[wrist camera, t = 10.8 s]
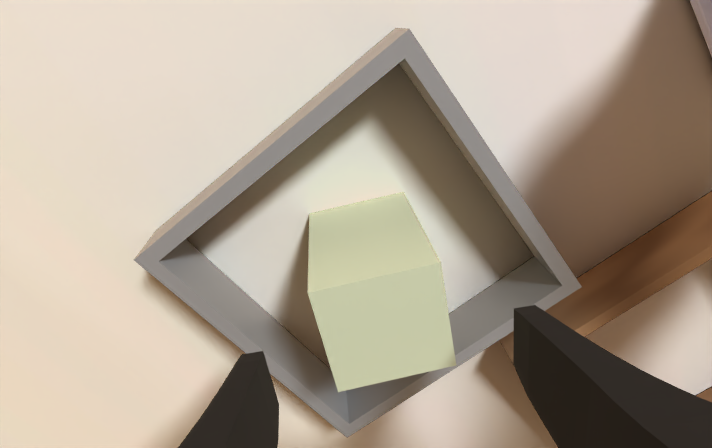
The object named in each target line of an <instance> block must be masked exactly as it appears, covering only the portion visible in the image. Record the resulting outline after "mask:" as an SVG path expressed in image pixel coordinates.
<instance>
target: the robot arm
mask: <svg viewBox="0 0 712 448" xmlns="http://www.w3.org/2000/svg"><path fill="white" fill-rule="evenodd" d="M690 2H691V5H692V8H693V10H694V13H695V15H696V18H697V20H698V23H699V26H700V28H701V31H702V33H703V36H704V38H705V41H706V44H707V46H708V49H709V51H710V54H711V56H712V0H690ZM513 364H514V366H515V369H516V371H517V373H518V376H519V378H520V380H521V383H522V385H523V387H524V389H525V391H526V394H527V396H528V398H529V399H530V401H531V403H532V405H533V406H534V408H535V410H536V411H537V413H538V415H539V416H540V418H541V420H542V421H543V423H544V425H545V426H546V428H547V430H548V431H549V433H550V435H551V436H552V438H553V440H554V441H555V443H556V444H557V446H558V448H712V402H710V401H707V400H705V399H702V398H700V397H697V396H695V395H693V394H690V393H688V392H686V391H683V390H681V389H679V388H677V387H675V386H673V385H671V384H669V383H666V382H664V381H662V380H660V379H658V378H656V377H654V376H652V375H650V374H648V373H646V372H644V371H642V370H640V369H638V368H636V367H635V366H633V365H631V364H629V363H627V362H626V361H624V360H622V359H620V358H618V357H617V356H615V355H613V354H611V353H610V352H608V351H606V350H605V349H603V348H601V347H600V346H598V345H596V344H595V343H593V342H591V341H590V340H588V339H587V338H585V337H584V336H582V335H580V334H579V333H577V332H576V331H574V330H573V329H571V328H570V327H568V326H567V325H565V324H563V323H562V322H560V321H559V320H557V319H556V318H554V317H553V316H551V315H550V314H548V313H547V312H545V311H544V310H542V309H541V308H539V307H537V306H536V305H531V306H525V307H519V308H514V351H513ZM278 428H279V403H278V400H277V396H276V393H275V389H274V386H273V383H272V379H271V376H270V372H269V369H268V366H267V362H266V359H265V355H264V352H263V351H259V352H254V353H248V354H242V355H241V356H240V358H239V359H238V361H237V362H236V364H235V365H234V367H233V369H232V370H231V372H230V373H229V375H228V377H227V378H226V380H225V381H224V383H223V385H222V386H221V388H220V389H219V391H218V392H217V394H216V395H215V397H214V398H213V400H212V401H211V403H210V404H209V406H208V407H207V409H206V410H205V412H204V413H203V415H202V416H201V418H200V419H199V420H198V422H197V423H196V424H195V426H194V427H193V428H192V430H191V431H190V432H189V434H188V435H187V436H186V438H185V439H184V441H183V442H182V443H181V444H180V446H179V447H178V448H277V445H278Z"/></svg>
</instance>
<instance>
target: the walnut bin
mask: <svg viewBox="0 0 712 448" xmlns="http://www.w3.org/2000/svg"><path fill="white" fill-rule="evenodd" d="M711 258H712V191H711V192H709V193H708V194H706V195H705V196H703V197H702V198H700V199H699V200H697V201H696V202H694V203H692V204H691V205H689V206H688V207H686V208H685V209H683V210H682V211H680V212H679V213H677V214H676V215H674V216H672V217H671V218H669V219H668V220H666V221H665V222H663V223H662V224H660V225H659V226H657V227H655V228H654V229H652V230H651V231H649V232H648V233H646V234H645V235H643V236H642V237H640V238H638V239H637V240H635V241H634V242H632V243H631V244H629V245H628V246H626V247H625V248H623V249H621V250H620V251H618V252H617V253H615V254H614V255H612V256H611V257H609V258H608V259H606V260H605V261H603V262H601V263H600V264H598V265H597V266H595V267H594V268H592V269H591V270H589V271H588V272H586V273H584V274H583V275H581V276H580V277H578V278H577V280H578V282H579V283H580V285H581V286H582V287H581V288H580V289H578V290H576V291H575V292H573V293H572V294H570V295H569V296H567V297H565V298H564V299H562V300H561V301H559V302H558V303H556V304H555V305H553V306H551V307H550V308H548V309H547V310H545V312H547V313H548V314H550V315H551V316H553V317H554V318H556V319H557V320H559V321H560V322H562V323H563V324H565V325H567V326H568V327H570V328H571V329H573V330H574V331H576V332H577V333H579V334H580V335H582V336H584V337H585V336H587V335H588V334H590V333H591V332H593V331H595V330H596V329H598V328H600V327H601V326H603V325H604V324H606V323H608V322H609V321H611V320H613V319H614V318H616V317H617V316H619V315H621V314H622V313H624V312H626V311H627V310H629V309H630V308H632V307H634V306H635V305H637V304H638V303H640V302H642V301H643V300H645V299H647V298H648V297H650V296H651V295H653V294H655V293H656V292H658V291H660V290H661V289H663V288H664V287H666V286H668V285H669V284H671V283H673V282H674V281H676V280H677V279H679V278H681V277H682V276H684V275H685V274H687V273H689V272H690V271H692V270H694V269H695V268H697V267H698V266H700V265H702V264H703V263H705V262H707V261H708V260H710V259H711ZM499 341H500V342H501V344H502V346H503V347H504V349H505V351H506V353H507V354H508V356H509V358H510V359H511V361H512V363H513V351H514V331H513V332H511V333H509V334H508V335H506V336H505V337H503V338H502V339H500V340H499ZM513 365H514V364H513ZM696 396H697V397H700V398H702V399H705V400H707V401H710V402H712V387H711V388H709V389H707V390H705V391H704V392H702V393H700V394H698V395H696Z"/></svg>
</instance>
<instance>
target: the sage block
mask: <svg viewBox="0 0 712 448" xmlns="http://www.w3.org/2000/svg"><path fill="white" fill-rule="evenodd" d="M308 296H309V299H310V302H311V306H312V309H313V312H314V315H315V319H316V322H317V325H318V328H319V332H320V335H321V338H322V341H323V345H324V348H325V351H326V354H327V358H328V361H329V364H330V367H331V371H332V374H333V377H334V380H335V384H336V387H337V390H338V392H341V391H346V390H350V389H354V388H359V387H363V386H368V385H372V384H376V383H381V382H385V381H390V380H394V379H399V378H403V377H407V376H412V375H416V374H421V373H425V372H429V371H434V370H438V369H443V368H447V367H451V366H456V360H455V353H454V346H453V340H452V333H451V327H450V320H449V313H448V307H447V300H446V293H445V287H444V280H443V274H442V267H441V262H440V260H439V258H438V256H437V254H436V252H435V250H434V249H433V247H432V245H431V243H430V241H429V239H428V237H427V235H426V233H425V232H424V230H423V228H422V226H421V224H420V222H419V220H418V218H417V216H416V215H415V213H414V211H413V209H412V207H411V205H410V203H409V201H408V199H407V198H406V196H405V194H404V192H401V193H397V194H392V195H388V196H384V197H379V198H375V199H371V200H366V201H362V202H358V203H353V204H349V205H344V206H340V207H336V208H331V209H327V210H323V211H318V212H314V213H310V214H309V251H308Z"/></svg>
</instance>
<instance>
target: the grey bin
mask: <svg viewBox="0 0 712 448" xmlns="http://www.w3.org/2000/svg"><path fill="white" fill-rule="evenodd" d="M398 63H399V64H400V65H401V67H402V68H403V70H404V71H405V72H406V74H407V75H408V77H409V78H410V79H411V81H412V82H413V84H414V85H415V87H416V88H417V89H418V91H419V92H420V94H421V95H422V97H423V98H424V99H425V101H426V102H427V104H428V105H429V107H430V108H431V109H432V111H433V112H434V114H435V115H436V117H437V118H438V119H439V121H440V122H441V124H442V125H443V126H444V128H445V129H446V131H447V132H448V134H449V135H450V136H451V138H452V139H453V141H454V142H455V144H456V145H457V146H458V148H459V149H460V151H461V152H462V154H463V155H464V156H465V158H466V159H467V161H468V162H469V164H470V165H471V166H472V168H473V169H474V171H475V172H476V173H477V175H478V176H479V178H480V179H481V181H482V182H483V183H484V185H485V186H486V188H487V189H488V191H489V192H490V193H491V195H492V196H493V198H494V199H495V201H496V202H497V203H498V205H499V206H500V208H501V209H502V211H503V212H504V213H505V215H506V216H507V218H508V219H509V220H510V222H511V223H512V225H513V226H514V228H515V229H516V230H517V232H518V233H519V235H520V236H521V238H522V239H523V240H524V242H525V243H526V245H527V246H528V248H529V249H530V250H531V252H532V253H533V255H534V257H533V258H531V259H530V260H528V261H527V262H526V263H524V264H523V265H521V266H520V267H518V268H517V269H515V270H514V271H512V272H511V273H509V274H508V275H506V276H505V277H503V278H502V279H500V280H499V281H497V282H496V283H494V284H493V285H491V286H490V287H488V288H487V289H485V290H484V291H482V292H481V293H479V294H478V295H476V296H475V297H473V298H472V299H471V300H469V301H468V302H466V303H465V304H463V305H462V306H460V307H459V308H457V309H456V310H454V311H453V312H451V313H450V314H449V320H450V327H451V333H452V340H453V346H454V353H455V360H456V366H451V367H447V368H443V369H438V370H434V371H429V372H425V373H421V374H416V375H412V376H407V377H403V378H399V379H394V380H390V381H385V382H381V383H376V384H372V385H368V386H363V387H359V388H354V389H350V390H346V391H341V392H338V390H337V387H336V384H335V380H334V377H333V374H332V371H331V370H330V369H329V368H328V367H327V366H326V365H325V364H324V363H322V362H321V361H320V360H319V359H318V358H317V357H316V356H315V355H314V354H312V353H311V352H310V351H309V350H308V349H307V348H306V347H305V346H304V345H303V344H301V343H300V342H299V341H298V340H297V339H296V338H295V337H294V336H293V335H291V334H290V333H289V332H288V331H287V330H286V329H285V328H284V327H283V326H281V325H280V324H279V323H278V322H277V321H276V320H275V319H274V318H273V317H271V316H270V315H269V314H268V313H267V312H266V311H265V310H264V309H263V308H262V307H260V306H259V305H258V304H257V303H256V302H255V301H254V300H253V299H252V298H250V297H249V296H248V295H247V294H246V293H245V292H244V291H243V290H242V289H240V288H239V287H238V286H237V285H236V284H235V283H234V282H233V281H232V280H231V279H229V278H228V277H227V276H226V275H225V274H224V273H223V272H222V271H221V270H219V269H218V268H217V267H216V266H215V265H214V264H213V263H212V262H211V261H209V260H208V259H207V258H206V257H205V256H204V255H203V254H202V253H201V252H200V251H198V250H197V249H196V248H195V247H194V246H193V245H192V244H191V243H190V242H188V241H187V240H186V238H188V237H189V236H190V235H191V234H192V233H194V232H195V231H196V230H197V229H198V228H200V227H201V226H202V225H203V224H204V223H206V222H207V221H208V220H209V219H211V218H212V217H213V216H214V215H215V214H217V213H218V212H219V211H220V210H221V209H223V208H224V207H225V206H226V205H228V204H229V203H230V202H231V201H232V200H234V199H235V198H236V197H237V196H238V195H240V194H241V193H242V192H243V191H244V190H246V189H247V188H248V187H249V186H251V185H252V184H253V183H254V182H255V181H257V180H258V179H259V178H260V177H261V176H263V175H264V174H265V173H266V172H268V171H269V170H270V169H271V168H272V167H274V166H275V165H276V164H277V163H278V162H280V161H281V160H282V159H283V158H284V157H286V156H287V155H288V154H289V153H291V152H292V151H293V150H294V149H295V148H297V147H298V146H299V145H300V144H301V143H303V142H304V141H305V140H306V139H308V138H309V137H310V136H311V135H312V134H314V133H315V132H316V131H317V130H318V129H320V128H321V127H322V126H323V125H324V124H326V123H327V122H328V121H329V120H331V119H332V118H333V117H334V116H335V115H337V114H338V113H339V112H340V111H341V110H343V109H344V108H345V107H346V106H348V105H349V104H350V103H351V102H352V101H354V100H355V99H356V98H357V97H358V96H360V95H361V94H362V93H363V92H364V91H366V90H367V89H368V88H369V87H371V86H372V85H373V84H374V83H375V82H377V81H378V80H379V79H380V78H381V77H383V76H384V75H385V74H386V73H388V72H389V71H390V70H391V69H392V68H394V67H395V66H396V65H397V64H398ZM134 261H136V262H137V263H138V264H139V265H140V266H142V267H143V268H144V269H145V270H146V271H148V272H149V273H150V274H151V275H152V276H154V277H155V278H156V279H157V280H158V281H160V282H161V283H162V284H163V285H164V286H166V287H167V288H168V289H169V290H170V291H172V292H173V293H174V294H175V295H176V296H178V297H179V298H180V299H181V300H182V301H184V302H185V303H186V304H187V305H188V306H190V307H191V308H192V309H193V310H194V311H196V312H197V313H198V314H199V315H200V316H202V317H203V318H204V319H205V320H206V321H208V322H209V323H210V324H211V325H212V326H214V327H215V328H216V329H217V330H218V331H220V332H221V333H222V334H223V335H224V336H226V337H227V338H228V339H229V340H230V341H232V342H233V343H234V344H235V345H236V346H238V347H239V348H240V349H241V350H242V351H244V352H245V353H246V354H248V353H254V352H259V351H263V352H264V355H265V359H266V362H267V366H268V369H269V372H270V374H271V375H272V376H274V377H275V378H276V379H277V380H278V381H280V382H281V383H282V384H283V385H284V386H286V387H287V388H288V389H289V390H290V391H292V392H293V393H294V394H295V395H296V396H298V397H299V398H300V399H301V400H302V401H304V402H305V403H306V404H307V405H308V406H310V407H311V408H312V409H313V410H314V411H316V412H317V413H318V414H319V415H320V416H322V417H323V418H324V419H325V420H326V421H328V422H329V423H330V424H331V425H332V426H334V427H335V428H336V429H337V430H338V431H340V432H341V433H342V434H343V435H344V436H346V437H349V436H351V435H352V434H354V433H355V432H357V431H358V430H360V429H361V428H363V427H365V426H366V425H368V424H369V423H371V422H372V421H374V420H376V419H377V418H379V417H380V416H382V415H383V414H385V413H386V412H388V411H390V410H391V409H393V408H394V407H396V406H397V405H399V404H400V403H402V402H404V401H405V400H407V399H408V398H410V397H411V396H413V395H414V394H416V393H418V392H419V391H421V390H422V389H424V388H425V387H427V386H428V385H430V384H432V383H433V382H435V381H436V380H438V379H439V378H441V377H442V376H444V375H446V374H447V373H449V372H450V371H452V370H453V369H455V368H456V367H458V366H460V365H461V364H463V363H464V362H466V361H467V360H469V359H471V358H472V357H474V356H475V355H477V354H478V353H480V352H481V351H483V350H485V349H486V348H488V347H489V346H491V345H492V344H494V343H495V342H497V341H499V340H500V339H502V338H503V337H505V336H506V335H508V334H509V333H511V332H513V331H514V308H519V307H525V306H531V305H536V306H537V307H539V308H541V309H542V310H544V311H545V310H547V309H548V308H550V307H551V306H553V305H555V304H556V303H558V302H559V301H561V300H562V299H564V298H565V297H567V296H569V295H570V294H572V293H573V292H575V291H576V290H578V289H580V288H581V287H582V286H581V285H580V283H579V282H578V280H577V279H576V277H575V276H574V274H573V273H572V271H571V270H570V268H569V267H568V265H567V264H566V262H565V261H564V259H563V258H562V256H561V255H560V253H559V252H558V250H557V249H556V247H555V246H554V244H553V243H552V241H551V240H550V238H549V237H548V235H547V234H546V232H545V231H544V229H543V228H542V226H541V225H540V223H539V222H538V220H537V219H536V217H535V216H534V214H533V213H532V211H531V210H530V208H529V207H528V205H527V204H526V202H525V201H524V199H523V198H522V196H521V195H520V194H519V192H518V191H517V189H516V188H515V186H514V185H513V183H512V182H511V180H510V179H509V177H508V176H507V174H506V173H505V171H504V170H503V168H502V167H501V165H500V164H499V162H498V161H497V159H496V158H495V156H494V155H493V153H492V152H491V150H490V149H489V147H488V146H487V144H486V143H485V141H484V140H483V138H482V137H481V135H480V134H479V132H478V131H477V129H476V128H475V126H474V125H473V123H472V122H471V120H470V119H469V117H468V116H467V114H466V113H465V111H464V110H463V108H462V107H461V105H460V104H459V102H458V101H457V99H456V98H455V96H454V95H453V93H452V92H451V90H450V89H449V87H448V86H447V84H446V83H445V81H444V80H443V78H442V77H441V75H440V74H439V72H438V71H437V69H436V68H435V66H434V65H433V63H432V62H431V60H430V59H429V57H428V56H427V55H426V53H425V52H424V50H423V49H422V47H421V46H420V44H419V43H418V41H417V40H416V38H415V37H414V35H413V34H412V32H411V31H410V29H405V28H395V29H394V30H393V31H392V32H390V33H389V34H388V35H387V36H386V37H384V38H383V39H382V40H381V41H380V42H379V43H377V44H376V45H375V46H374V47H373V48H371V49H370V50H369V51H368V52H367V53H366V54H364V55H363V56H362V57H361V58H360V59H358V60H357V61H356V62H355V63H354V64H353V65H351V66H350V67H349V68H348V69H347V70H345V71H344V72H343V73H342V74H341V75H339V76H338V77H337V78H336V79H335V80H334V81H332V82H331V83H330V84H329V85H328V86H326V87H325V88H324V89H323V90H322V91H321V92H319V93H318V94H317V95H316V96H315V97H313V98H312V99H311V100H310V101H309V102H308V103H306V104H305V105H304V106H303V107H302V108H300V109H299V110H298V111H297V112H296V113H295V114H293V115H292V116H291V117H290V118H289V119H287V120H286V121H285V122H284V123H283V124H282V125H280V126H279V127H278V128H277V129H276V130H274V131H273V132H272V133H271V134H270V135H269V136H267V137H266V138H265V139H264V140H263V141H261V142H260V143H259V144H258V145H257V146H255V147H254V148H253V149H252V150H251V151H250V152H248V153H247V154H246V155H245V156H244V157H242V158H241V159H240V160H239V161H238V162H237V163H235V164H234V165H233V166H232V167H231V168H229V169H228V170H227V171H226V172H225V173H224V174H222V175H221V176H220V177H219V178H218V179H216V180H215V181H214V182H213V183H212V184H211V185H209V186H208V187H207V188H206V189H205V190H203V191H202V192H201V193H200V194H199V195H198V196H196V197H195V198H194V199H193V200H192V201H190V202H189V203H188V204H187V205H186V206H185V207H183V208H182V209H181V210H180V211H179V212H177V213H176V214H175V215H174V216H173V217H171V218H170V219H169V220H168V221H167V222H166V223H164V224H163V225H162V226H161V227H160V228H158V229H157V230H156V231H155V233H154V234H153V235H152V237H151V238H150V239H149V241H148V242H147V243H146V244H145V246H144V247H143V248H142V250H141V251H140V252H139V254H138V255H137V256H136V258H135V259H134Z"/></svg>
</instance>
